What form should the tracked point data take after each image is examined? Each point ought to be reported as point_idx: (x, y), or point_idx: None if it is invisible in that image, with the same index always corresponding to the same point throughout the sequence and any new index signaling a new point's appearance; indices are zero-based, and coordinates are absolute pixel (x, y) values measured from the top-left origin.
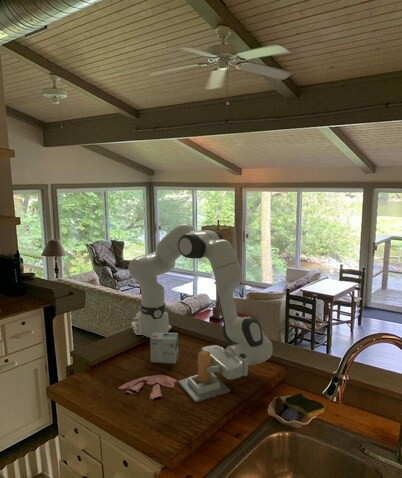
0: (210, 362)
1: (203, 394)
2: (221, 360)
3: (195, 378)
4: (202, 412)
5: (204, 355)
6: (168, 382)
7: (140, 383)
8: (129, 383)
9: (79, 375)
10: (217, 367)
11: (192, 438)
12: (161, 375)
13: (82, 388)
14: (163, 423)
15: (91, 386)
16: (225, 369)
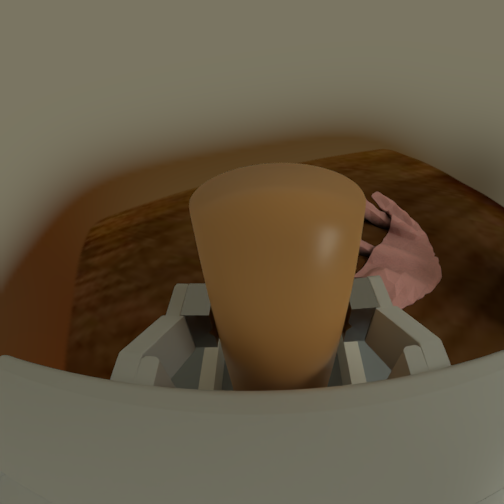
0: (224, 320)
1: (199, 359)
2: (153, 447)
3: (343, 361)
4: (125, 317)
5: (234, 184)
6: (371, 272)
7: (379, 213)
8: (392, 205)
9: (430, 167)
10: (123, 359)
11: (81, 257)
12: (437, 275)
13: (383, 163)
14: (171, 227)
15: (389, 169)
16: (22, 360)
